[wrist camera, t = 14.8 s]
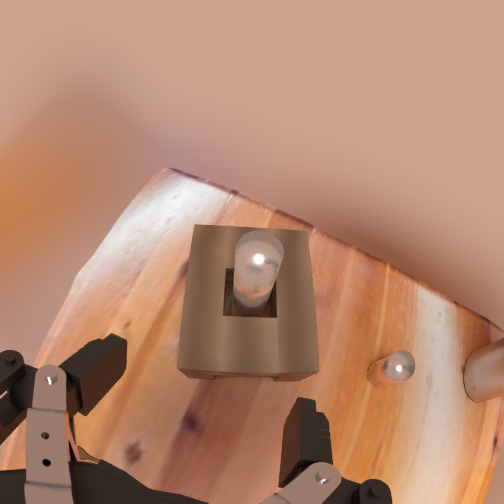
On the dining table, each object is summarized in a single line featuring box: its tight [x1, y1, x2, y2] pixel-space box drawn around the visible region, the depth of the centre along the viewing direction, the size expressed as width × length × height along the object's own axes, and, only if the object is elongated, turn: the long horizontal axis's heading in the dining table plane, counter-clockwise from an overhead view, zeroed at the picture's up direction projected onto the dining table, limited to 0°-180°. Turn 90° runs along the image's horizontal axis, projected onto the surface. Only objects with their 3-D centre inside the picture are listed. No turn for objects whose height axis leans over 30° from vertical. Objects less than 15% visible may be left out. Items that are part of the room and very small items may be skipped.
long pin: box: [232, 231, 284, 317], centre depth 28 cm, size 4×4×16 cm
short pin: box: [367, 350, 415, 387], centre depth 29 cm, size 4×4×6 cm
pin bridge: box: [177, 224, 319, 381], centre depth 31 cm, size 13×16×8 cm
